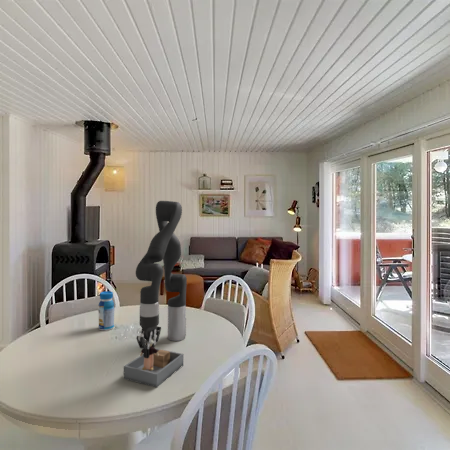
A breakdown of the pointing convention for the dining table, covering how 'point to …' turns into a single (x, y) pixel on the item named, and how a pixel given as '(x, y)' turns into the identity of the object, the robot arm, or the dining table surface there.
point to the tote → (157, 374)
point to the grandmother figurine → (149, 361)
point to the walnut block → (161, 358)
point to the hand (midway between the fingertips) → (149, 355)
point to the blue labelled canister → (106, 311)
